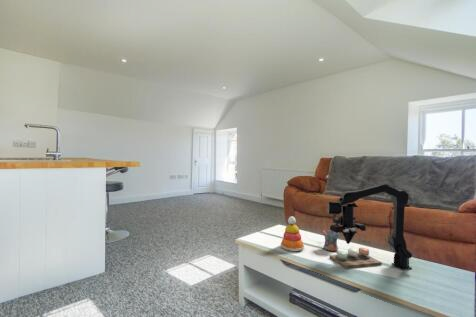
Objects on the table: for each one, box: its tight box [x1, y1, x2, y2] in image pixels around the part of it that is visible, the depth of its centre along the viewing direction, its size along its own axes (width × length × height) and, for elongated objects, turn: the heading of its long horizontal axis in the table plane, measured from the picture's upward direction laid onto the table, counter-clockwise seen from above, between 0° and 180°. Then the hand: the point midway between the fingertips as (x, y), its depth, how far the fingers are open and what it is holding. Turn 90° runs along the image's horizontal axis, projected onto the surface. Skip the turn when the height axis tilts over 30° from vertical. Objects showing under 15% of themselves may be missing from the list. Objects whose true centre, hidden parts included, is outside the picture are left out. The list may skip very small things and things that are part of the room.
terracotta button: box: [358, 247, 370, 256], centre depth 130 cm, size 5×5×2 cm
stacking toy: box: [280, 215, 305, 252], centre depth 144 cm, size 14×14×20 cm
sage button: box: [336, 250, 348, 259], centre depth 126 cm, size 5×5×2 cm
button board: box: [329, 252, 383, 270], centre depth 127 cm, size 22×13×2 cm, turn 104°
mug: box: [322, 229, 340, 252], centre depth 145 cm, size 12×9×11 cm
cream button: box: [347, 247, 359, 256], centre depth 128 cm, size 5×5×2 cm
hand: (347, 243), depth 127 cm, fingers closed
